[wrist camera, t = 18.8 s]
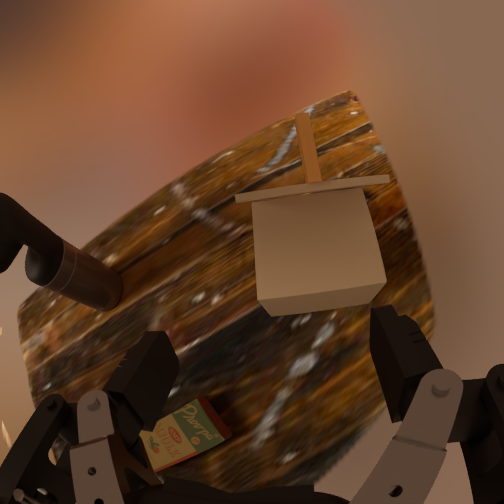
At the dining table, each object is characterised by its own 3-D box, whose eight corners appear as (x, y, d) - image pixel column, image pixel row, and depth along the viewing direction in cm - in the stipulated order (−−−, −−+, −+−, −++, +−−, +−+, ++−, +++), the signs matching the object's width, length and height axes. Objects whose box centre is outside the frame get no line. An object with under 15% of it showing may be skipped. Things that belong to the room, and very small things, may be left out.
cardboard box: (265, 238, 49) (251, 202, 39) (353, 226, 46) (361, 187, 36) (271, 316, 43) (257, 299, 33) (369, 303, 40) (386, 281, 30)
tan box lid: (254, 201, 38) (246, 151, 37) (358, 186, 36) (349, 136, 34) (233, 203, 25) (221, 127, 23) (393, 182, 22) (378, 107, 21)
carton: (141, 431, 39) (128, 434, 35) (206, 394, 40) (196, 396, 36) (165, 467, 35) (153, 473, 32) (234, 434, 37) (226, 440, 33)
